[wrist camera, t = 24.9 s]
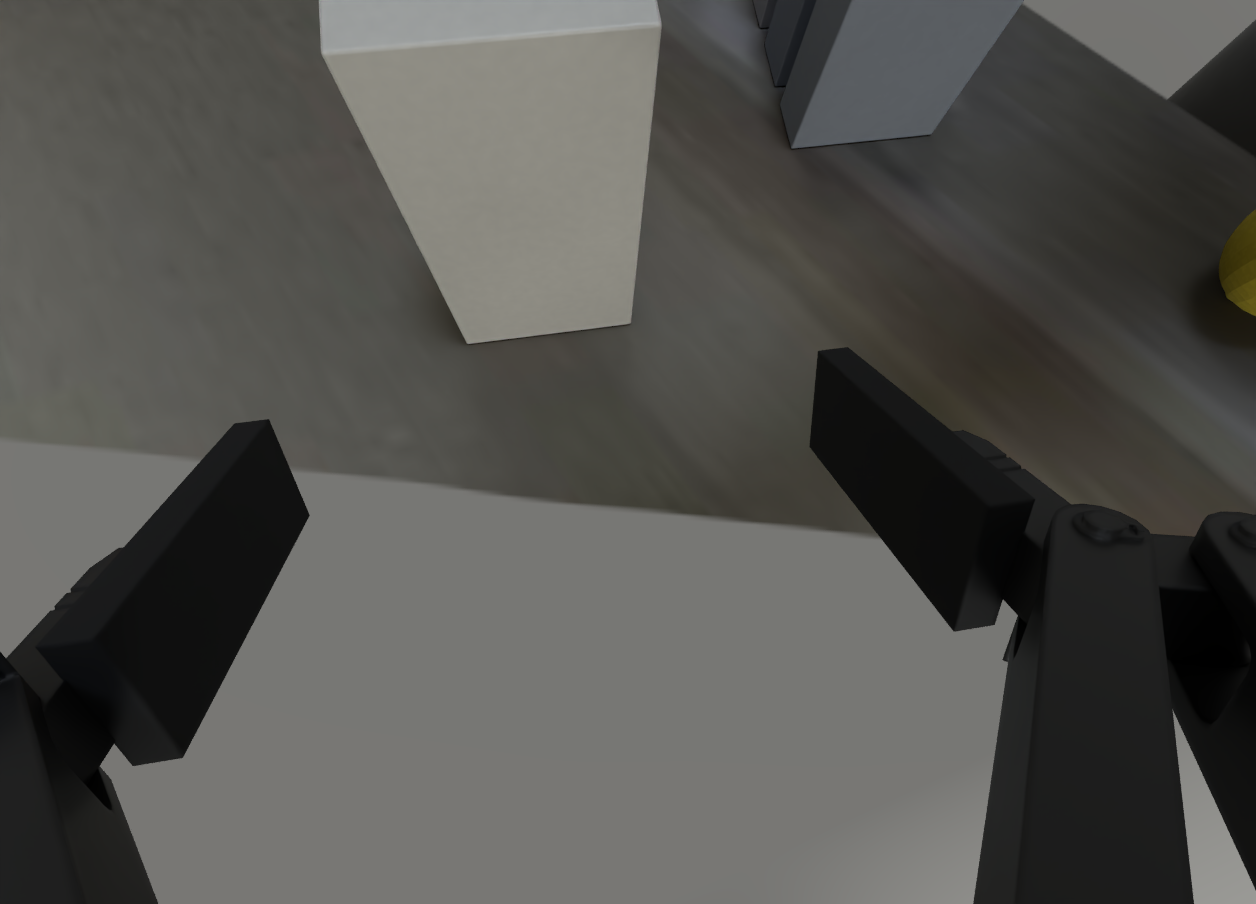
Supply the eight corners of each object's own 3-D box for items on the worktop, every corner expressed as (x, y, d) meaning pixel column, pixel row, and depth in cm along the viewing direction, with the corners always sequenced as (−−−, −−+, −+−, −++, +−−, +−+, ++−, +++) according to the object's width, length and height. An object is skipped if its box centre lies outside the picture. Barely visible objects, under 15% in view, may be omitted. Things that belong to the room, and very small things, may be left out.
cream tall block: (631, 324, 26) (662, 23, 13) (466, 345, 26) (319, 53, 12) (620, 262, 27) (640, -85, 14) (460, 281, 27) (314, -61, 13)
